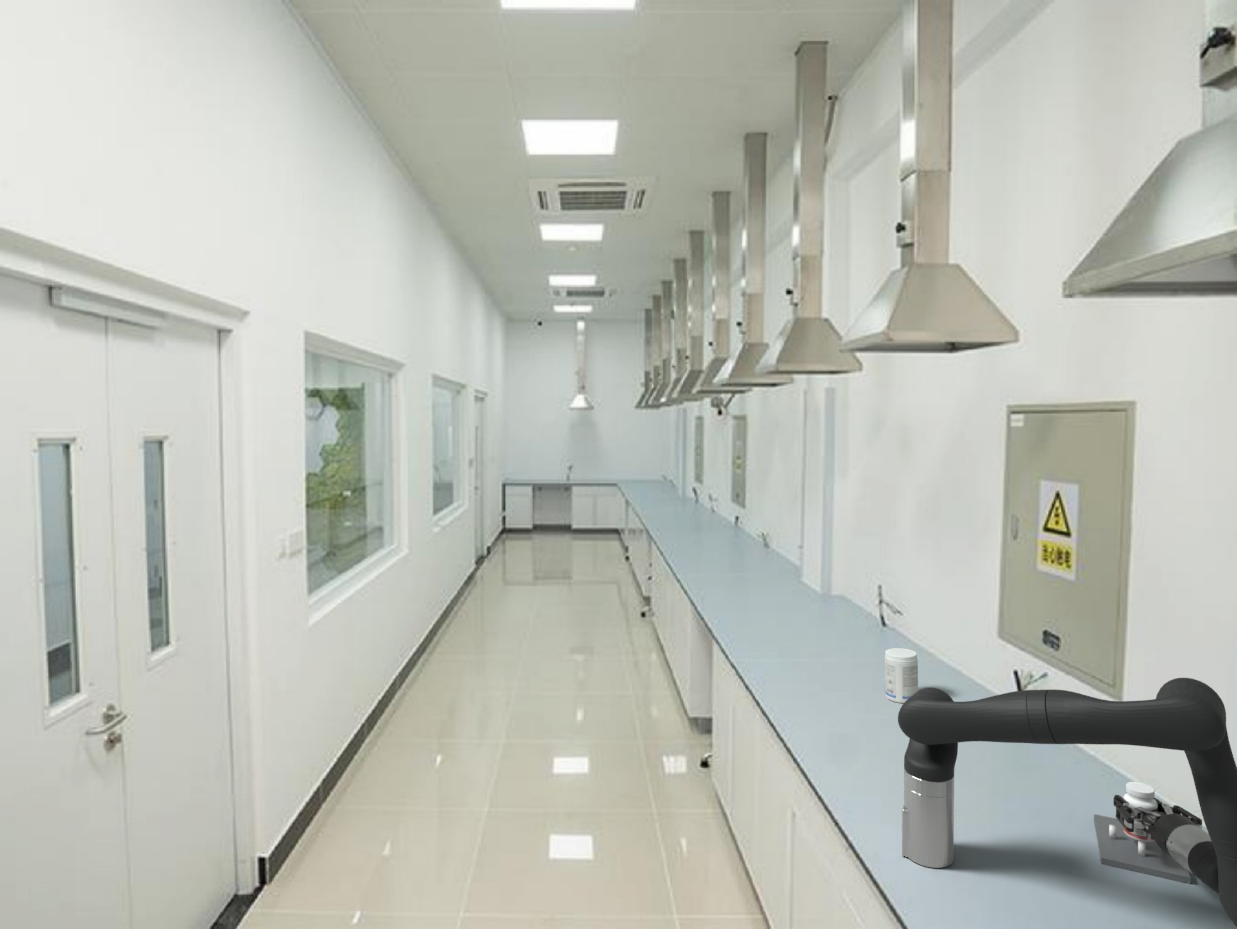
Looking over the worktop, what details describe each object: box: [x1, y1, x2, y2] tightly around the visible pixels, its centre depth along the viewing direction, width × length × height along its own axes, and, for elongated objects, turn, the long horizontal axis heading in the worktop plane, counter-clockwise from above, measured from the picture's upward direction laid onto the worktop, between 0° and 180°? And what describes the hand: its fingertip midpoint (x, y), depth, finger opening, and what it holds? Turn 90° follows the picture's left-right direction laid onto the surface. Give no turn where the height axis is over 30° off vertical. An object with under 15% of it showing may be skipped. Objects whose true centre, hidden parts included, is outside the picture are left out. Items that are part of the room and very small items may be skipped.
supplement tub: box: [884, 647, 919, 704], centre depth 231 cm, size 10×10×15 cm
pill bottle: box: [1122, 781, 1158, 842], centre depth 149 cm, size 6×6×10 cm
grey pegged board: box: [1093, 813, 1192, 884], centre depth 149 cm, size 14×18×4 cm
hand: (1132, 799), depth 151 cm, fingers closed on pill bottle, 5 cm apart
